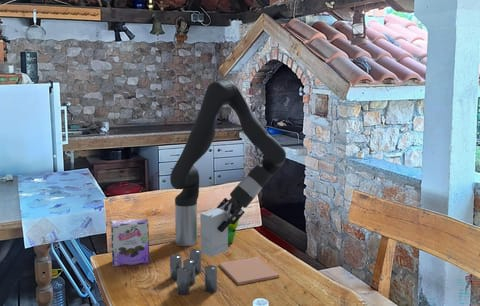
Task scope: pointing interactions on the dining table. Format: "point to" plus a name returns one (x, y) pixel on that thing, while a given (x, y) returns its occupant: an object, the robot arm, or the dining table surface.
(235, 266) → the terracotta tile
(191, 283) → the posts
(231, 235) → the potted cactus
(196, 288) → the dining table surface
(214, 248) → the skincare box
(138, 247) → the candy box
